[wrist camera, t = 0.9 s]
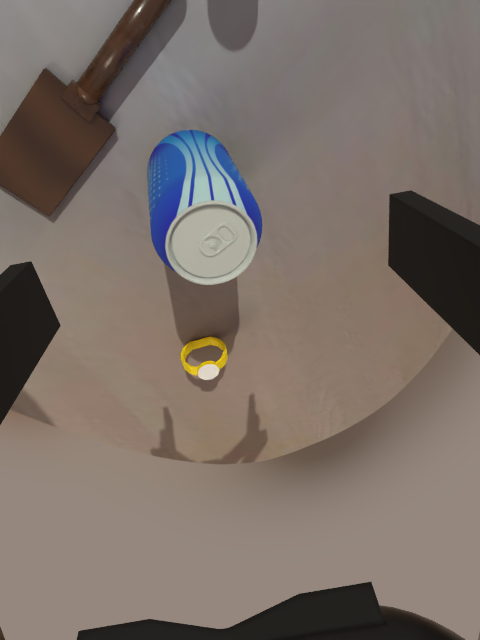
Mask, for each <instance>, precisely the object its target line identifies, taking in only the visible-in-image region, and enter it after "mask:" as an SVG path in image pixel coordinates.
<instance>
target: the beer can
mask: <svg viewBox="0 0 480 640" xmlns="http://www.w3.org/2000/svg"><path fill="white" fill-rule="evenodd" d="M147 179H148V194H149V209H150V225H151V236H152V241H153V244H154V247H155V250H156V252H157V254H158V255H159V257H160V258H161V259H162V261H163V262H164V263H165V264H166V265H167V266H168V267H170V268H171V269H172V270H174V271H175V272H177V273H178V274H179V275H180V276H182V277H183V278H185V279H186V280H188V281H191V282H193V283H197V284H202V285H216V284H221V283H224V282H227V281H230V280H232V279H234V278H235V277H237V276H238V275H240V274H241V273H242V272H243V271H244V270H245V269H246V268H247V267H248V266H249V264H250V263H251V261H252V260H253V257H254V255H255V252H256V249H257V247H258V244H259V241H260V238H261V233H262V218H261V213H260V210H259V207H258V204H257V203H256V201H255V199H254V197H253V195H252V194H251V192H250V190H249V188H248V187H247V185H246V183H245V182H244V180H243V178H242V176H241V175H240V173H239V171H238V169H237V168H236V166H235V164H234V162H233V161H232V159H231V157H230V156H229V154H228V152H227V150H226V149H225V147H224V146H223V145H222V144H221V143H220V142H219V141H218V140H217V139H216V138H214V137H213V136H211V135H209V134H207V133H204V132H201V131H196V130H183V131H178V132H175V133H173V134H171V135H169V136H167V137H166V138H164V139H163V140H162V141H161V142H160V143H159V144H158V145H157V146H156V147H155V149H154V150H153V152H152V154H151V156H150V159H149V162H148V168H147Z"/></svg>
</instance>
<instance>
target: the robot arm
mask: <svg viewBox="0 0 480 640" xmlns="http://www.w3.org/2000/svg"><path fill="white" fill-rule="evenodd" d="M388 265H389V266H390V267H391V268H392V269H393V270H394V271H395V272H396V273H397V274H398V275H399V276H400V277H401V278H402V279H403V280H404V281H405V282H406V283H407V284H408V285H409V286H410V287H411V288H412V289H413V290H414V291H415V292H416V293H417V294H418V295H419V296H420V297H421V298H422V299H423V300H424V301H425V302H426V303H427V304H428V305H429V306H430V307H431V308H432V309H433V310H434V311H435V312H436V313H437V314H438V315H439V316H441V317H442V318H443V319H444V320H445V321H446V322H447V323H448V324H449V325H450V326H451V327H452V328H453V329H454V330H455V331H456V332H457V333H458V334H459V335H460V336H461V337H462V338H463V339H464V340H465V341H466V342H467V343H468V344H469V345H470V346H471V347H472V348H473V349H474V350H475V351H476V352H477V353H478V354H479V355H480V225H478V224H476V223H474V222H472V221H470V220H468V219H466V218H464V217H462V216H460V215H458V214H456V213H454V212H452V211H450V210H448V209H446V208H444V207H442V206H440V205H438V204H437V203H435V202H433V201H431V200H429V199H427V198H425V197H423V196H421V195H419V194H417V193H415V192H413V191H406V192H400V193H395V194H390V203H389V259H388ZM59 327H60V323H59V321H58V319H57V317H56V315H55V312H54V310H53V308H52V306H51V304H50V301H49V299H48V297H47V295H46V293H45V290H44V288H43V286H42V284H41V282H40V279H39V277H38V275H37V273H36V271H35V268H34V266H33V264H32V262H25V263H20V264H15V265H10V266H9V267H8V268H7V269H6V270H5V271H4V272H3V273H2V274H1V275H0V424H1V423H2V421H3V420H4V418H5V416H6V415H7V413H8V411H9V410H10V408H11V406H12V405H13V403H14V401H15V400H16V398H17V396H18V395H19V393H20V391H21V390H22V388H23V386H24V385H25V383H26V382H27V380H28V378H29V377H30V375H31V373H32V372H33V370H34V368H35V367H36V365H37V363H38V362H39V360H40V358H41V357H42V355H43V353H44V352H45V350H46V349H47V347H48V345H49V344H50V342H51V340H52V339H53V337H54V335H55V334H56V332H57V330H58V329H59ZM0 640H5V638H4V636H3V633H2V630H1V628H0ZM77 640H465V639H464V638H462V637H461V636H459V635H457V634H456V633H455V632H453V631H451V630H449V629H447V628H446V627H444V626H442V625H440V624H438V623H436V622H434V621H432V620H429V619H427V618H425V617H422V616H420V615H417V614H415V613H412V612H409V611H405V610H401V609H397V608H394V607H387V606H380V605H379V604H378V601H377V598H376V595H375V592H374V589H373V586H372V583H371V582H367V583H361V584H356V585H350V586H343V587H338V588H332V589H326V590H320V591H314V592H308V593H302V594H298V595H296V596H294V597H292V598H290V599H288V600H285V601H283V602H281V603H279V604H277V605H275V606H273V607H271V608H269V609H267V610H265V611H263V612H261V613H259V614H257V615H255V616H253V617H251V618H249V619H247V620H245V621H242V622H240V623H238V624H236V625H234V626H232V627H230V628H226V629H214V628H207V627H200V626H194V625H187V624H179V623H172V622H166V621H159V620H152V619H148V620H141V621H136V622H130V623H124V624H118V625H112V626H106V627H100V628H94V629H88V630H82V631H79V632H78V637H77ZM478 640H480V634H479V638H478Z"/></svg>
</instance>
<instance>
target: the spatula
mask: <svg viewBox="0 0 480 640" xmlns="http://www.w3.org/2000/svg"><path fill="white" fill-rule="evenodd" d="M170 1H171V0H134V1H133V2H132V4H131V5H130V7H129V8H128V10H127V11H126V13H125V14H124V15H123V17H122V18H121V20H120V21H119V23H118V24H117V26H116V27H115V29H114V30H113V31H112V33H111V34H110V36H109V37H108V39H107V40H106V42H105V43H104V44H103V46H102V47H101V49H100V50H99V52H98V53H97V55H96V56H95V58H94V59H93V60H92V62H91V63H90V65H89V66H88V68H87V69H86V71H85V72H84V74H83V75H82V76H81V78H80V79H79V81H78V82H77V84H76V83H75V82H74V81H73V80H72V81H71V82H70V84H69V85H68V87H67V86H66V85H65V84H64V83H63V82H61V81H60V80H59V79H58V78H57V77H56V76H54V75H53V74H52V73H51V72H50V71H49V70H47V69H46V68H45V69H43V71H42V73H41V74H40V76H39V77H38V79H37V80H36V82H35V83H34V85H33V86H32V88H31V90H30V91H29V93H28V94H27V96H26V97H25V99H24V100H23V102H22V103H21V105H20V106H19V108H18V110H17V111H16V113H15V114H14V116H13V117H12V119H11V120H10V122H9V123H8V125H7V127H6V128H5V130H4V131H3V133H2V134H1V136H0V185H1V186H3V187H4V188H6V189H7V190H9V191H11V192H12V193H14V194H15V195H17V196H18V197H20V198H21V199H23V200H24V201H26V202H28V203H29V204H31V205H32V206H34V207H35V208H37V209H38V210H40V211H42V212H43V213H45V214H46V215H48V216H50V215H51V214H52V212H53V211H54V210H55V208H56V207H57V206H58V204H59V203H60V202H61V200H62V199H63V198H64V196H65V195H66V194H67V192H68V191H69V190H70V189H71V187H72V186H73V185H74V183H75V182H76V181H77V179H78V178H79V177H80V175H81V174H82V173H83V171H84V170H85V169H86V168H87V166H88V165H89V164H90V162H91V161H92V160H93V158H94V157H95V156H96V154H97V153H98V152H99V150H100V149H101V148H102V147H103V145H104V144H105V143H106V141H107V140H108V139H109V137H110V136H111V135H112V133H113V132H114V131H115V127H114V126H113V125H112V124H111V123H109V122H108V121H107V120H106V119H105V118H104V117H102V116H101V115H100V114H99V113H98V112H97V111H98V110H99V109H100V106H101V104H99V103H98V101H99V99H100V98H101V97H102V95H103V94H104V93H105V91H106V90H107V88H108V87H109V86H110V84H111V83H112V81H113V80H114V79H115V77H116V76H117V75H118V73H119V72H120V70H121V69H122V68H123V66H124V65H125V63H126V62H127V61H128V59H129V58H130V57H131V55H132V54H133V52H134V51H135V50H136V48H137V47H138V45H139V44H140V43H141V41H142V40H143V39H144V37H145V36H146V34H147V33H148V32H149V30H150V29H151V28H152V26H153V25H154V23H155V22H156V21H157V19H158V18H159V16H160V15H161V14H162V12H163V11H164V10H165V8H166V7H167V5H168V4H169V3H170Z"/></svg>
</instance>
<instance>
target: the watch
mask: <svg viewBox="0 0 480 640" xmlns="http://www.w3.org/2000/svg"><path fill="white" fill-rule="evenodd" d="M208 345H214V346H218V347H219V348H220V349H222V350H223V351H224V352H223V354H222V356H221V358H220V359H219V360H218V361H217V362H214V361H205V362H203V363H201V364H200V365H199V366H198V367H195V366H191V365H189V364H188V363H186V362H185V361H186V357H187V355H188V354H189V353H190V352H191V351H192V350H194V349H197V348H201V347H204V346H208ZM180 356H181V360H182V364H183V366H184V369H185V370H186V371H187V372H189V373H190V374H193V375H198V376H199V377H200V378H201V379H203V380H210V379H213V378H215V377H216V376H217V375H218V374H219V370H220V369H221V368H222V367H223V366H224V365H225V364H226V361H227V359H228V355H227V350H226V346H225V344H224V342H222V341H221V340H220V339H218V338H215V337H210V336H209V337H206V338H202V339H199V340H195V341H192V342H191V341H190V342H189V343H188V344H187V345H186V346H185V347H184V348H183V349H182V352H181V355H180Z"/></svg>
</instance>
